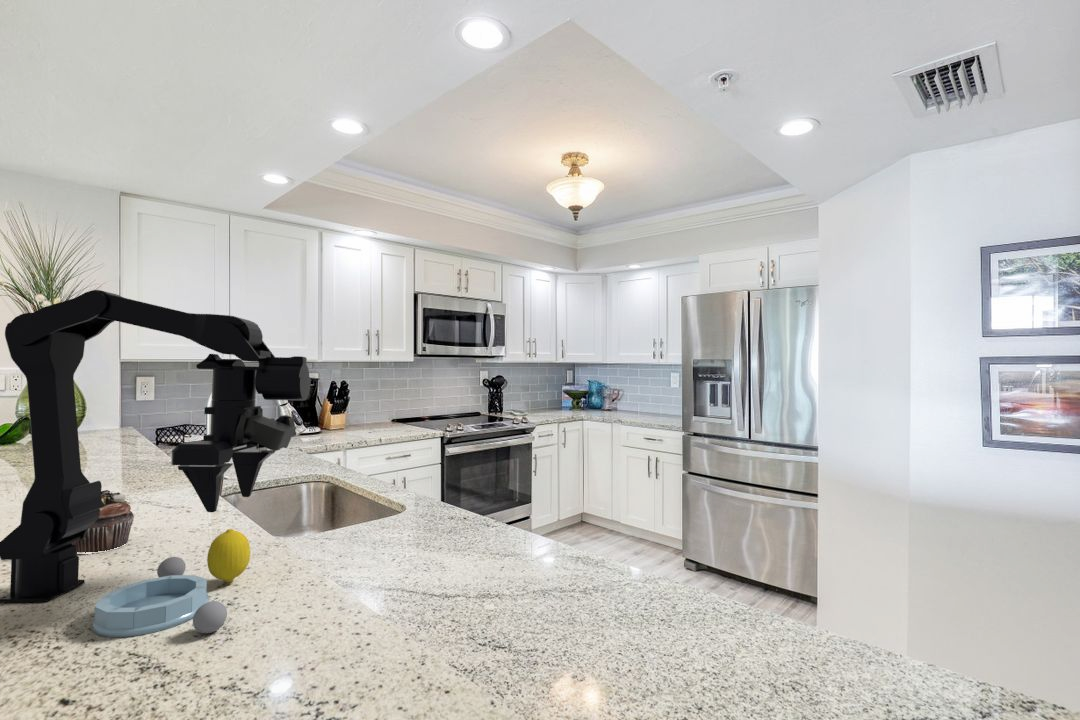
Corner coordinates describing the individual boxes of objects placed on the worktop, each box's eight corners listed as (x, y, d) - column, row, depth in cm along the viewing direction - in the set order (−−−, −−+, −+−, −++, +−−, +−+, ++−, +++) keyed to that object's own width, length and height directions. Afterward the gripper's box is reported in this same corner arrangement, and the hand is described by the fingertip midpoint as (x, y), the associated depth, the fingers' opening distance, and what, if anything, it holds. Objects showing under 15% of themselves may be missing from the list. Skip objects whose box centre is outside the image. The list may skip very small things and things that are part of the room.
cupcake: (146, 541, 96) (148, 487, 96) (91, 558, 86) (93, 499, 87) (106, 537, 98) (108, 484, 98) (48, 554, 89) (50, 495, 89)
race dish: (65, 638, 60) (66, 614, 60) (140, 594, 72) (140, 574, 72) (170, 636, 61) (170, 612, 61) (227, 593, 73) (227, 573, 73)
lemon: (229, 592, 73) (231, 535, 74) (197, 588, 75) (198, 533, 75) (258, 577, 79) (259, 524, 79) (227, 574, 80) (228, 522, 80)
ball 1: (151, 585, 76) (151, 561, 76) (167, 576, 79) (167, 553, 79) (175, 585, 76) (176, 561, 76) (190, 576, 79) (191, 553, 79)
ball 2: (185, 639, 60) (186, 609, 60) (203, 624, 64) (204, 596, 64) (216, 638, 60) (216, 608, 60) (232, 624, 64) (233, 596, 64)
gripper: (256, 403, 68) (252, 521, 68) (312, 398, 87) (309, 490, 87) (171, 402, 68) (166, 521, 68) (246, 397, 87) (242, 490, 86)
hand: (230, 503), depth 77 cm, fingers open, 9 cm apart
